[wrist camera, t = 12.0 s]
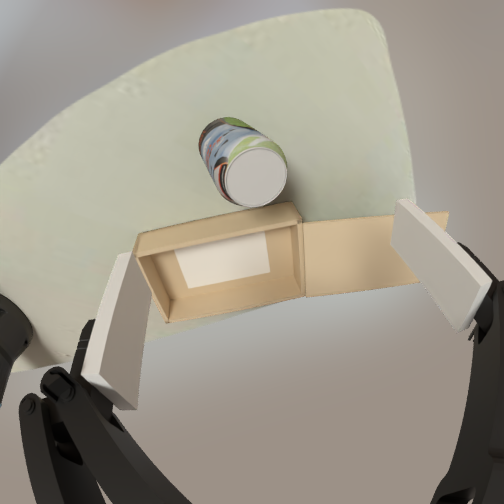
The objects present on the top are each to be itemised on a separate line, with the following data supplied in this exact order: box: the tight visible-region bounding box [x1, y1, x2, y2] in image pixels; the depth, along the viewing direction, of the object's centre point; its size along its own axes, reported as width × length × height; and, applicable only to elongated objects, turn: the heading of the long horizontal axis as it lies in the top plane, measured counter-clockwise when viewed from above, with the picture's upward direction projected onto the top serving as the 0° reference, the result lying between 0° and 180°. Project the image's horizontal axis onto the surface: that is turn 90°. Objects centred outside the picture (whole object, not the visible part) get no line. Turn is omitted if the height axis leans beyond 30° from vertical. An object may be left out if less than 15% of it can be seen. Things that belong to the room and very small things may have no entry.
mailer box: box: [132, 201, 306, 323], centre depth 37 cm, size 20×12×5 cm, turn 98°
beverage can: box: [199, 117, 287, 207], centre depth 25 cm, size 6×7×12 cm
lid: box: [303, 211, 449, 297], centre depth 34 cm, size 19×12×1 cm, turn 98°
